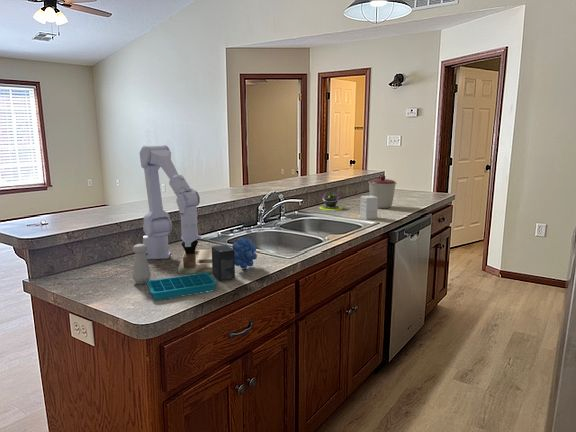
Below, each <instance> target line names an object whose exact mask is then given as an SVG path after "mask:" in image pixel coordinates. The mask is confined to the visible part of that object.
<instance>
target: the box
mask: <svg viewBox="0 0 576 432" xmlns="http://www.w3.org/2000/svg"><path fill="white" fill-rule="evenodd" d="M211 249H212V273H211V274H212V277H214V278H215V279H217V280H218V281H219V282H223V281H224V280H226V281H230V280H229V279H232V280H235V279H236V268H235V267H236V265H235V252H234V251H235V250H234V249H233V247H232V246H229V245H227V244H221V245H220V244H219V245H212V246H211ZM234 278H235V279H234Z"/></svg>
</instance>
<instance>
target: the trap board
mask: <svg viewBox="0 0 576 432" xmlns="http://www.w3.org/2000/svg"><path fill="white" fill-rule="evenodd" d="M184 254H186V253H185V250H184V252H183V254H182V257H181V260H180V262H179V265H178V268H177V272H178V275H179V274H180V275H182V274H184V275H185V274H186V275H189V274H199V273H209V274H210V273H211V274H212V248H208V249H196V250H195V254H196V266H195V268H184V266H183V256H184Z"/></svg>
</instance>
